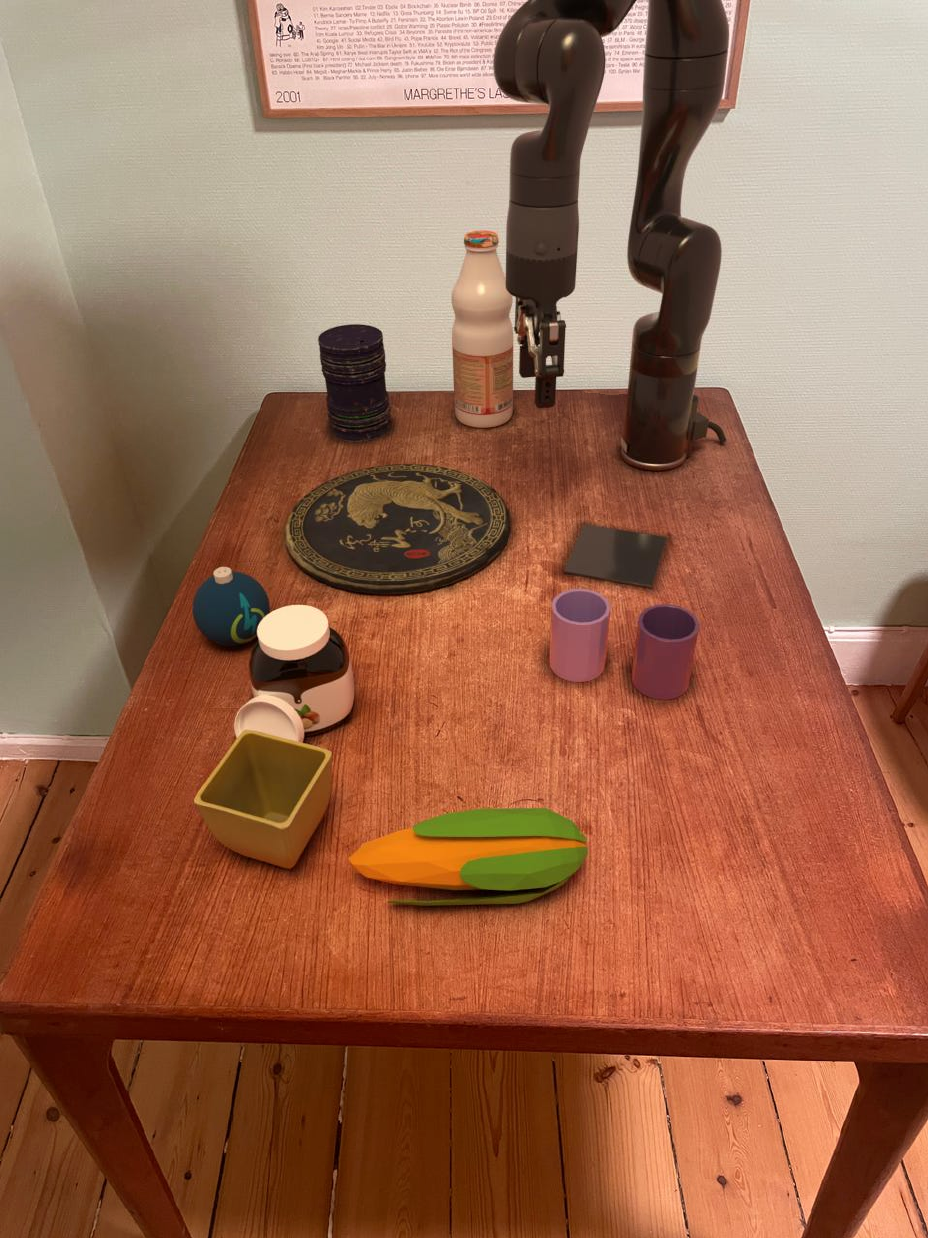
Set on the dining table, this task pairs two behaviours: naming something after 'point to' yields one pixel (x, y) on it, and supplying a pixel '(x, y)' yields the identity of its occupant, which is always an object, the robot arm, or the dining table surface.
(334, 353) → the dark purple cylinder
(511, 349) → the fruit juice
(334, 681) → the spread jar
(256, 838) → the flower pot
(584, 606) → the lilac cup
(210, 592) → the christmas ornament
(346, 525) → the decorative plate
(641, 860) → the dining table surface
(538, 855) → the corn
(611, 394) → the dining table surface
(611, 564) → the coaster
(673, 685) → the plum cup
